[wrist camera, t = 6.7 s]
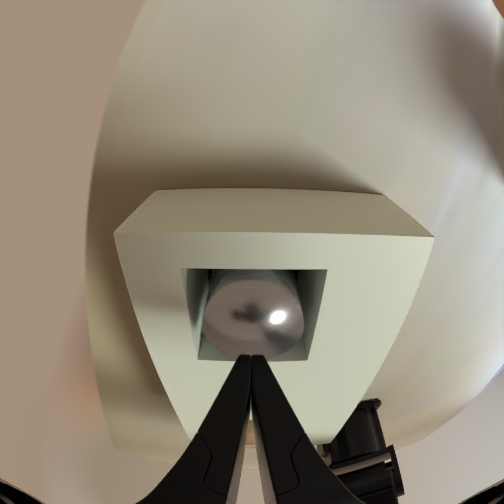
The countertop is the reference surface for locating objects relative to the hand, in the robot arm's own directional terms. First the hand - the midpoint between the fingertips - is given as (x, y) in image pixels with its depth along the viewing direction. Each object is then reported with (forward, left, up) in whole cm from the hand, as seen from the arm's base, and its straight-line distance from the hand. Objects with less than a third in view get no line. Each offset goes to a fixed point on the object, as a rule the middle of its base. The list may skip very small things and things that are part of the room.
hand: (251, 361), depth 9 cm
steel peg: (0, 0, -7) cm, 7 cm away
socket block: (-1, +6, -7) cm, 9 cm away
